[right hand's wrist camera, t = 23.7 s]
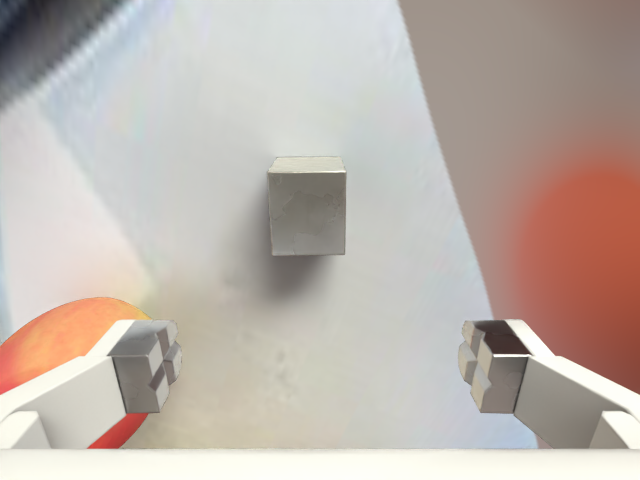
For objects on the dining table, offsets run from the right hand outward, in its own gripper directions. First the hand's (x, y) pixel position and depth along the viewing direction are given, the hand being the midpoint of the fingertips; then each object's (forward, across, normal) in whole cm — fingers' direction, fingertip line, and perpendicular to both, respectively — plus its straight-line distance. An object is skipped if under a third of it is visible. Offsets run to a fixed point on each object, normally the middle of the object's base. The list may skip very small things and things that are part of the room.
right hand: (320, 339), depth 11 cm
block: (+15, -1, 0) cm, 15 cm away
